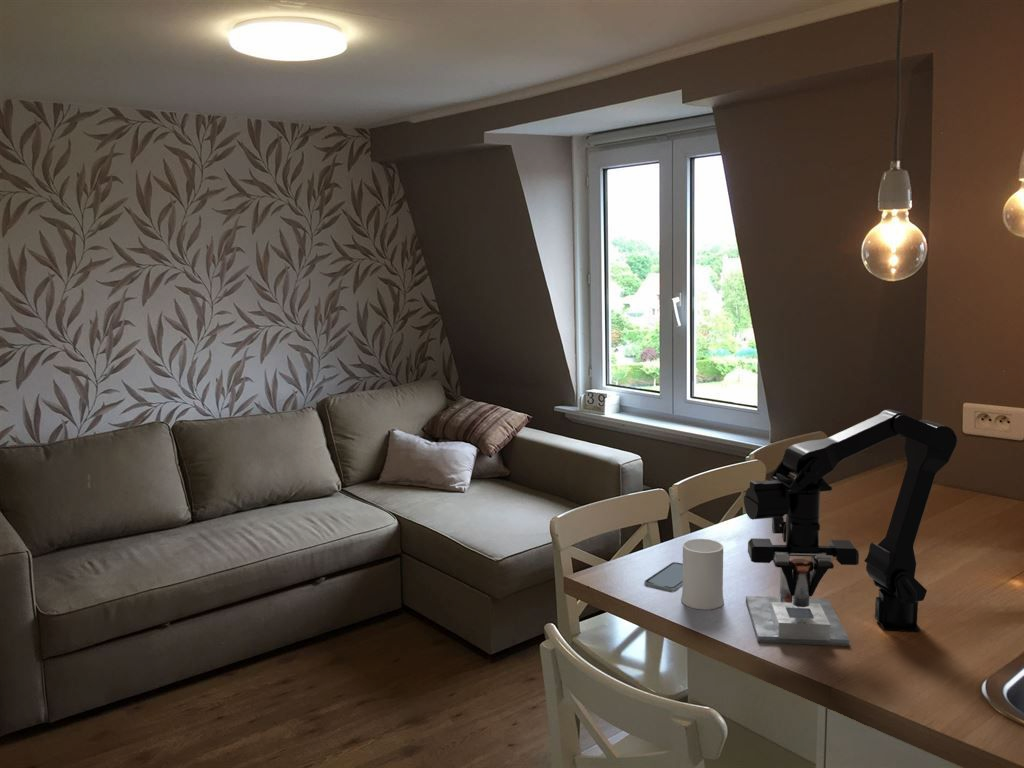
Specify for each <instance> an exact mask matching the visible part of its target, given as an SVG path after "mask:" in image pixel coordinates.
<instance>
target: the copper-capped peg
mask: <svg viewBox="0 0 1024 768" xmlns="http://www.w3.org/2000/svg"><path fill="white" fill-rule="evenodd" d="M790 562H791V564H792V570H793V586H794V592H793V596H792V604H793V605H795V606H797V607H807V606H809V598H811V596H810V572H811V571H812V570H813V562H811V560H809V559H806V558H793V559H791V560H790Z"/></svg>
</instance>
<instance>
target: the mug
mask: <svg viewBox="0 0 1024 768" xmlns="http://www.w3.org/2000/svg"><path fill="white" fill-rule="evenodd" d="M682 564H683V585H682V586H681V587H682V591H681V592H682V593H681V599H680V600H681V603H682V604H683V605H685V606H687V607H689V608H691V609H695V610H696V609H697V610H703V611H704V610H706V611H707V610H710V611H711V610H716V609H719V608H721V607H722V606H723V605H724V603H725V599H724V589H723V588H724V545H723V544H722V543H721V542H718V541H717V540H713V539H708V538H707V539H706V538H695V539H688V540H686V541H684V542H683V543H682Z"/></svg>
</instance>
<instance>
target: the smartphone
mask: <svg viewBox="0 0 1024 768" xmlns="http://www.w3.org/2000/svg"><path fill="white" fill-rule="evenodd" d="M643 582H644V585H645V586H647V587H649V588H655V589H659V590H663V591H665V592H666V591H668V592H676V591H677V590H679V589H680V588H681V587H682V586H683V562H678V561H677V562H676V561H674V562H671V563H669V564H668V565H666V566H665V567H663V568H662V569H660V570H659V571H657V572H656V573H653V574H652V575H651V576H650V577H648V578H647V579H645V580H644V581H643Z"/></svg>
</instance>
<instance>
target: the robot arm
mask: <svg viewBox="0 0 1024 768" xmlns="http://www.w3.org/2000/svg"><path fill="white" fill-rule="evenodd" d="M896 436H900V437H902V438H905V443H904V453H905V458H906V463H907V465H906V466H907V467H906V469H905V473H904V476H903V479H902V482H901V486H900V490H899V491H898V492H899V493H898V495H897V498H896V502H895V505H894V509H893V512H892V515H891V519H890V522H889V525H888V528H887V530H886V531H887V532H886V534H885V537H884V538H883V539H881V540H880V542H878V543H875V542H871V543H870V544H869V548H868V553H867V555H866V557H865V559H864V560H863V561H864V563H866V565H865V566H866V567H865V571H866V572H867V575H868V577H870V578H871V579H872V582H873V584H874V586H875V587H877V588H879V589H878V596H876V597H875V601H874V602H875V606H874V607H875V608H874V618H875V619H876V621H877V622H878V623H879V625H880V626H881V627H882V629H883V630H884V631H903V632H919V631H921V628H920V626H919V625H918V611H919V602H923V601H924V600H925V597H926V595H927V592H928V589H926V587H924V586H923V584H921V583H920V581H918V580H917V579H916V578H915V577H916V570H917V569H916V568H917V561H916V555H915V549H914V545H915V541H916V539H917V535H918V532H919V530H920V529H919V528H920V526H921V523H922V521H923V520H922V519H923V516H924V512H925V509H926V506H927V503H928V499H929V497H930V494H931V491H932V487H933V485H934V481H935V478H936V475H937V473H938V472H939V471H940V470H941V469H942V468H944V467H945V466H946V464H948V463H949V462H950V459H951V458H952V455H953V453H954V451H955V449H956V447H957V443H958V436H957V435H956V433H955V431H954V430H953V428H951V427H949V426H948V425H947V426H946V425H943V424H940V423H938V422H933V421H931V420H927V419H919V420H918V419H915V418H913V417H910V416H909V415H907V414H905V412H902V411H897V410H894V409H890V408H889V409H884V410H883V411H881V412H880V413H879V414H877V415H875V416H873V417H870V418H867V419H866V420H864V421H861V422H859V423H857V424H855V425H853V426H851V427H849V428H847V429H844V430H842V431H840V432H837V433H835V434H833V435H831V436H829V437H825V438H822V439H813V440H811V439H810V440H807V441H802V442H798V443H794V444H792V445H790V446H788V447H787V448H786V449H785V450H784V454H783V456H782V460H781V461H780V462H779V463H778V465H777V466H776V468H775V469H774V471H773V472H772V474H771V475H770V477H769V479H770V480H761V481H760V480H751V481H749V487H748V488H747V489H746V491H745V495H743V504H744V510H745V512H746V515H747V517H748V518H749V519H750V520H753V521H755V520H763V519H772V520H771V521H772V522H771V527H772V529H771V532H772V534H779V535H782V536H781V538H782V541H783V543H785V544H773V543H772V541H771V539H770V538H754V537H753V538H750V539H749V540H748V542H747V553H748V556H749V559H750V562H751V563H754V564H756V563H757V564H770V563H771V562H773V565H774V567H775V568H779V569H782V571H783V573H784V576H785V579H786V583H787V586H788V589H789V592H790V595H791V596H793V592H794V586H793V571H792V564H791V562H790V561H791V560H790V558H791V557H810V558H811V559H810V561H811V562H813V570H812V571H810V597H813V595H814V594H815V592H816V589H817V587H818V586H819V584H820V583H821V582H820V581H821V580H822V579H823V577H824V575H825V574H826V573H827V572H828V570H829V569H830V570H831V569H834V568H835V567H834V566H835V565H834V563H833V561H832V560H833V559H834V558H835V560H836V562H838V563H839V564H840V565H841V566H843V565H845V566H857V565H859V562H860V553H859V549H858V548H857V547H856V546H855V544H854V543H853V542H852V541H851V540H850V539H830V541H829V542H828V545H819V544H820V542H819V541H820V531H821V530H820V528H821V525H820V517H821V515H820V511H821V510H820V508H821V493H822V492H831V491H833V487H832V486H831V485H829V483H827V482H826V480H825V479H824V478H825V477H826V476H827V475H829V474H831V472H833V471H834V470H835V468H836V467H837V465H839V464H840V463H841V462H842V461H844V460H845V459H848V458H851V457H853V456H854V455H857V454H858V453H861V452H863V451H865V450H868V449H870V448H872V447H874V446H876V445H879V444H880V443H883V442H884V441H887V440H889V439H891V438H893V437H896ZM789 475H792V476H794V477H795V478H793V477H791V476H789ZM784 516H786V517H785V519H784ZM784 520H785V521H784Z"/></svg>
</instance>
